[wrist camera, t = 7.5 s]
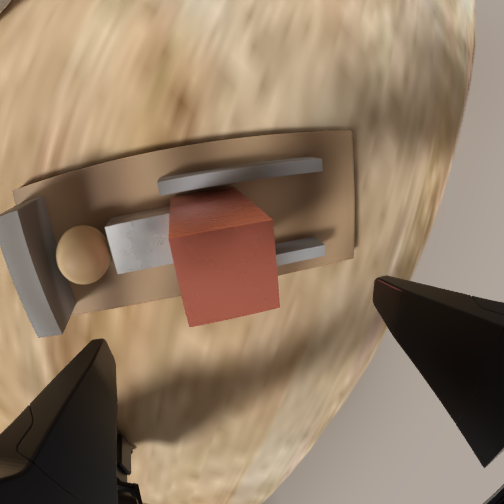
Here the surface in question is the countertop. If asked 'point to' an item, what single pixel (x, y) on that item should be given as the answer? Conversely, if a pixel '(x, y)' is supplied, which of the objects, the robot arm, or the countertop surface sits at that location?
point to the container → (4, 4)
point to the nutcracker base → (158, 195)
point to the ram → (204, 252)
